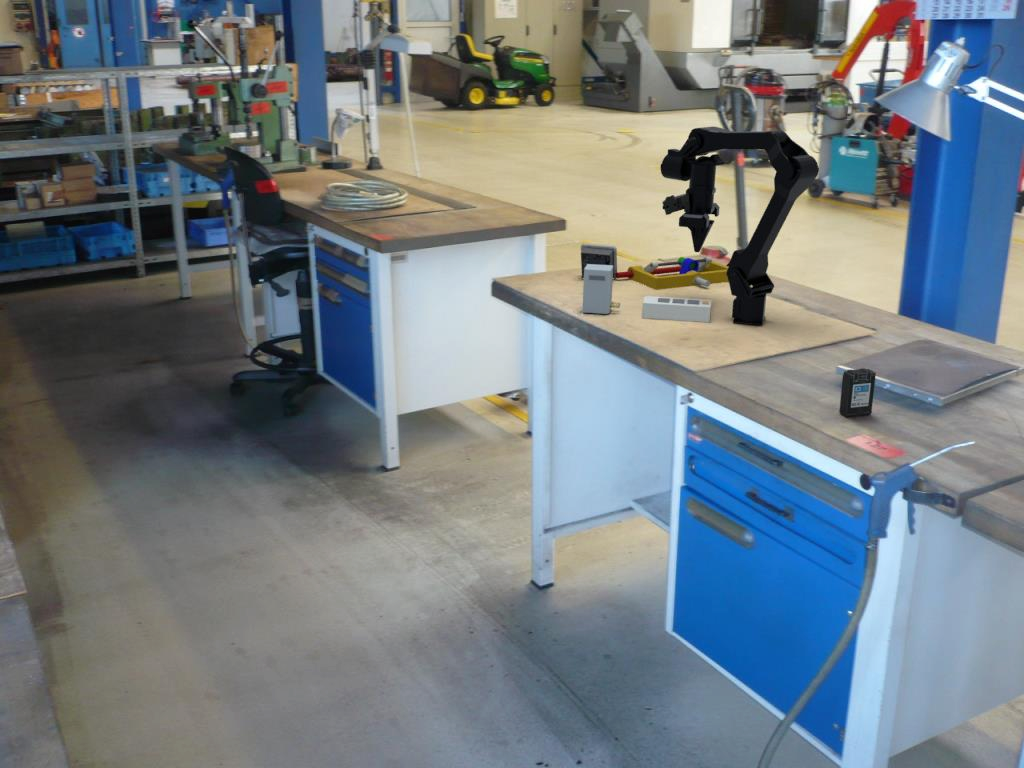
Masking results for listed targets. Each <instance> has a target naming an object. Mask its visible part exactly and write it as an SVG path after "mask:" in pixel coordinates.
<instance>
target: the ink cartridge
mask: <svg viewBox="0 0 1024 768" xmlns="http://www.w3.org/2000/svg"><path fill="white" fill-rule="evenodd" d="M876 374H877V373H876V372H875V371H873V370H871V369H870V368H858V369H847V370H845V371H843V375H842V380H841V381H842V382H841V392H840V401H839V414H841V415H842V416H843V417H845V418H847V419H848V418H859V417H860V418H861V417H869V416H870V415H871V414H872V413H873V403H874V402H873V401H874V395H875V384H876Z"/></svg>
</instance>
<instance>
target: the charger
mask: <svg viewBox="0 0 1024 768" xmlns="http://www.w3.org/2000/svg"><path fill="white" fill-rule="evenodd" d="M613 280H614V279H613V265H596V264H587V265H586V267H585V269H584V279H583V290H582V313H587V314H588V313H591V314H601V315H609V314H610V312H611V309H612V308H615V309H617V308H619V309H620V307H621V303H622V302H621V301H612V299H613Z"/></svg>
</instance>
